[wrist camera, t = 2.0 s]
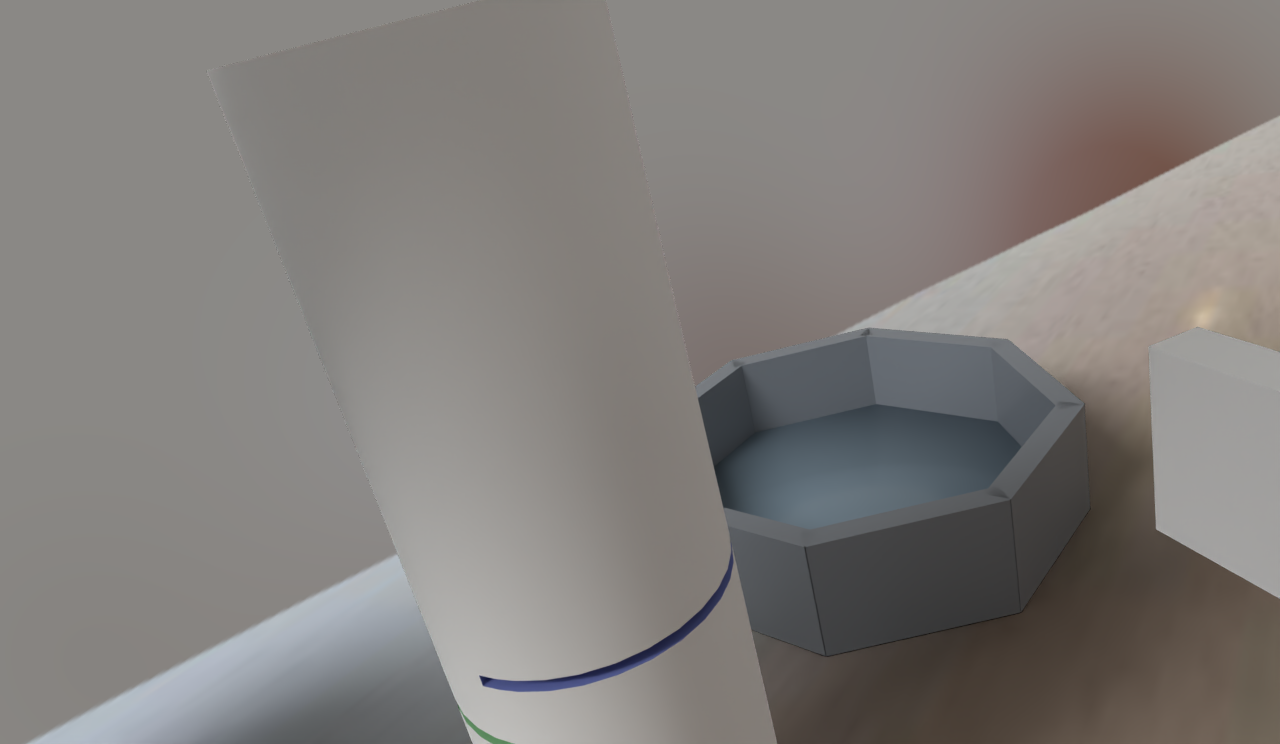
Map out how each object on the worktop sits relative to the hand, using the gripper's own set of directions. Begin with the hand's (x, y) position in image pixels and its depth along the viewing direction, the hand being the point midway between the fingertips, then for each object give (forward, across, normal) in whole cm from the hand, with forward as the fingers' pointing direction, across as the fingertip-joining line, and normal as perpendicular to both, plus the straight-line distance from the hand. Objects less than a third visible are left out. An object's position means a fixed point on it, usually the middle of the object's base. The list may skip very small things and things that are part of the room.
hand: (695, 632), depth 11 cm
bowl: (+26, +14, -18) cm, 34 cm away
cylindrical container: (+10, 0, -18) cm, 21 cm away
